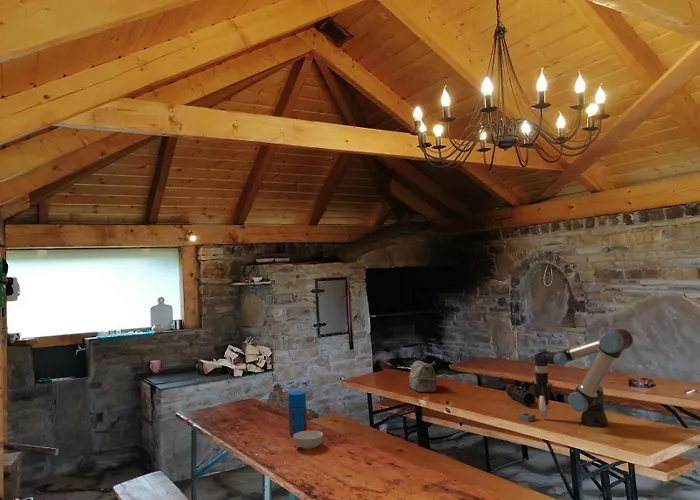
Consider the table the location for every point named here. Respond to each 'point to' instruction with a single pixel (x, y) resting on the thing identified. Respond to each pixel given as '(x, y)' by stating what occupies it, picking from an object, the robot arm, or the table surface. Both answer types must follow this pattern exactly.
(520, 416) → the socket block
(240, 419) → the table surface
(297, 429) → the thermos
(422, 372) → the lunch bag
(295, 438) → the cereal bowl
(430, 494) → the table surface
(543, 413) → the plug
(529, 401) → the muzzle brake
